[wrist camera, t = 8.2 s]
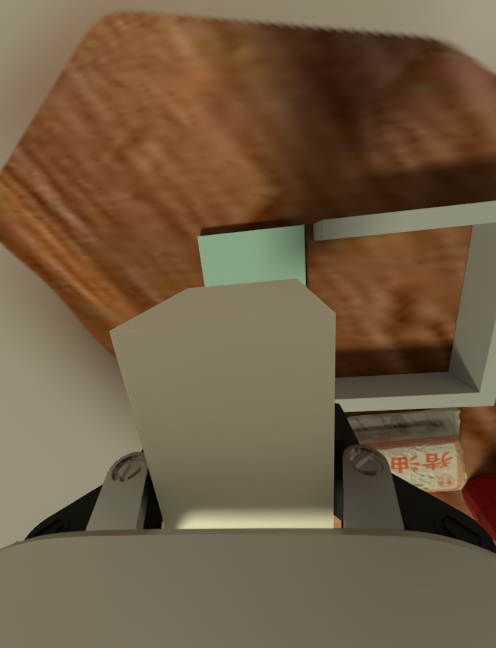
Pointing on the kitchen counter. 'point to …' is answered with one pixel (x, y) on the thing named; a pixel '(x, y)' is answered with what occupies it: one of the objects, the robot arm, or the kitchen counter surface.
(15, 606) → the robot arm
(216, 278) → the pad
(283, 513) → the carton
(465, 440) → the kitchen counter surface
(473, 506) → the plastic cup
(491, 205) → the frame
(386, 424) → the packaged product
